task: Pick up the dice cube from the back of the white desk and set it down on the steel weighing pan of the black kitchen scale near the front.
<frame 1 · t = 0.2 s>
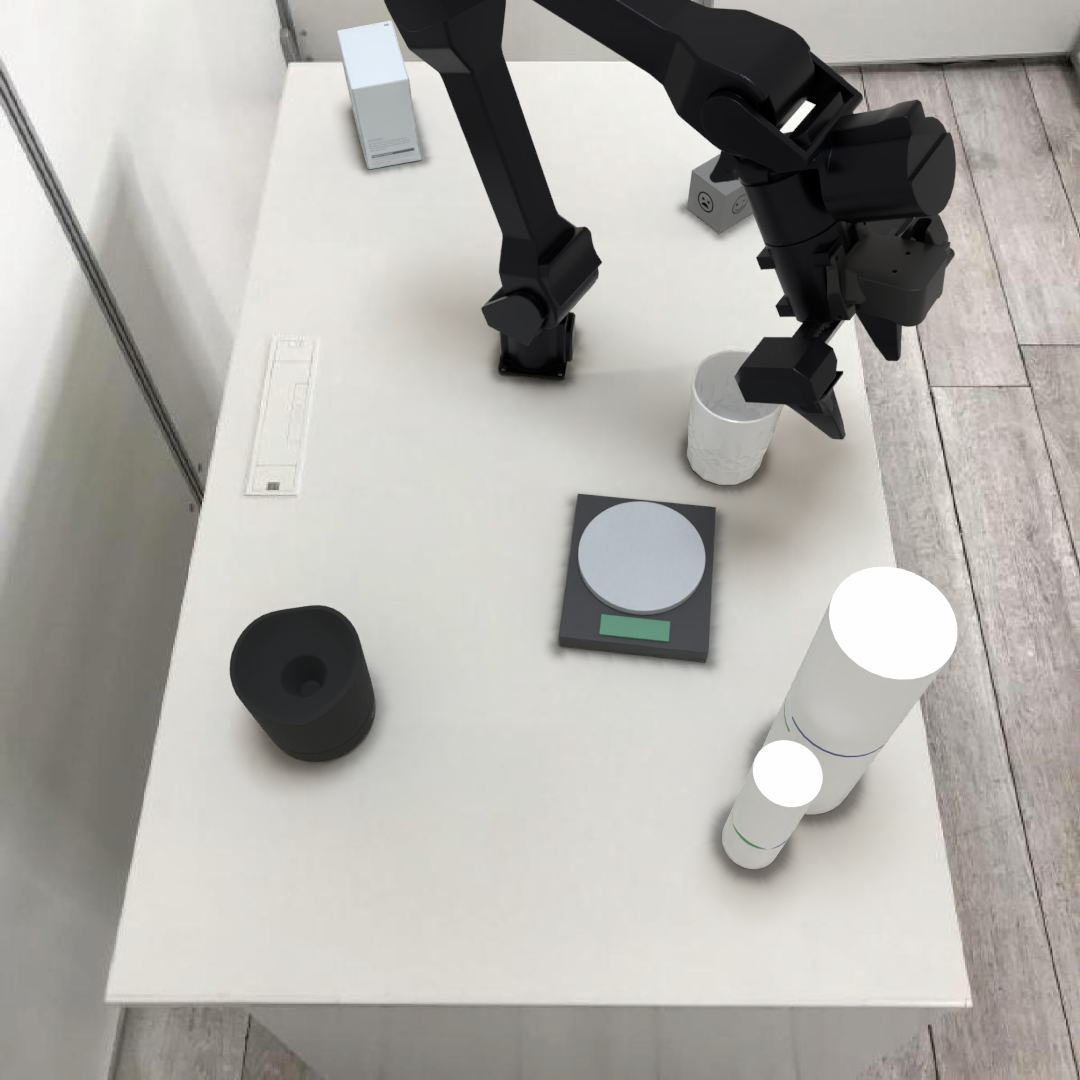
hand: (866, 398, 81), 15 cm above the table, tool tilted 30°, fingers open, 9 cm apart
scale: (638, 579, 91), on the table
white cup: (723, 457, 97), on the table
cosmetics box: (386, 137, 121), on the table
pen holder: (322, 713, 85), on the table
dice cube: (719, 212, 114), on the table
tube: (750, 840, 79), on the table
cylindrical container: (804, 769, 82), on the table
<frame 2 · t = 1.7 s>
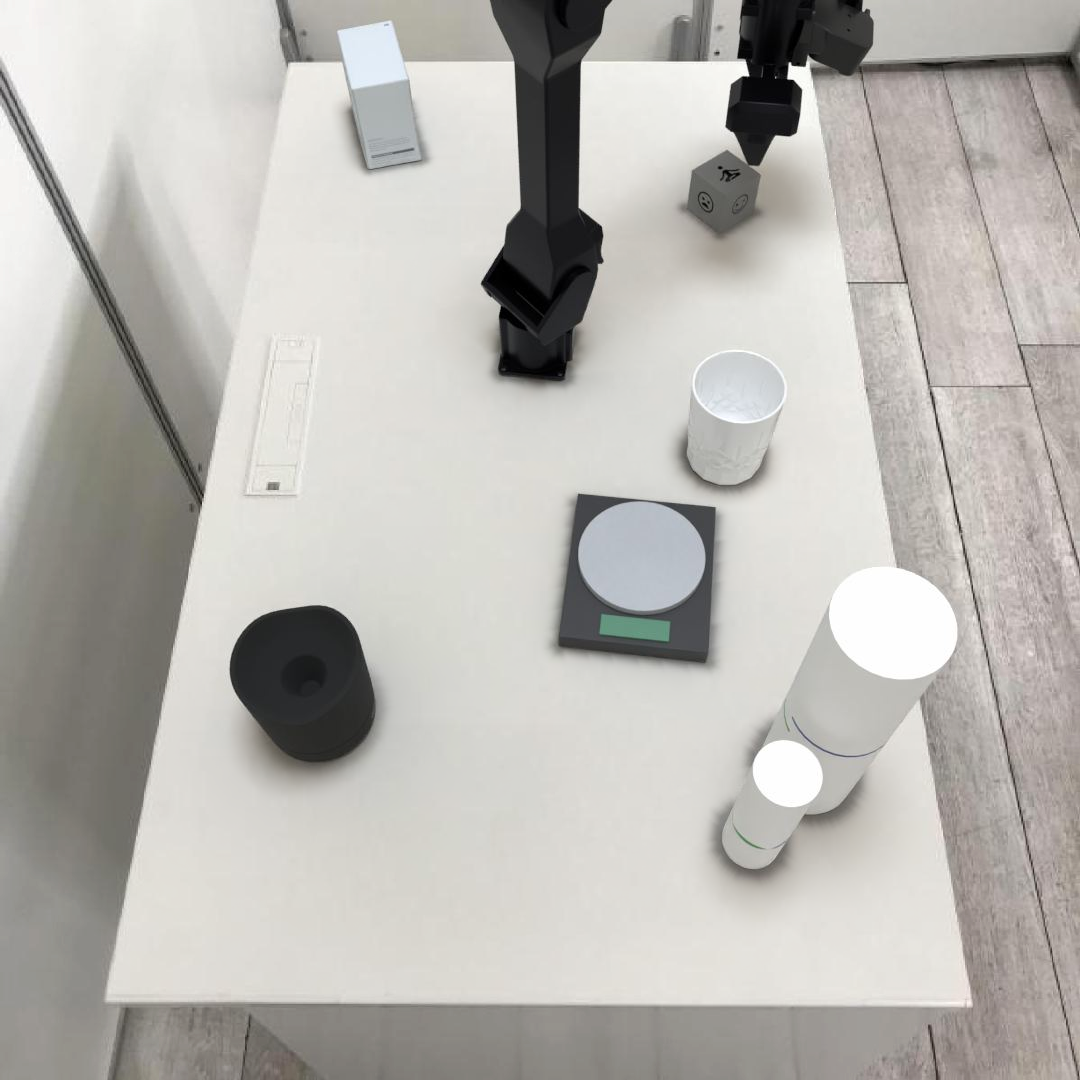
hand: (757, 132, 103), 11 cm above the table, tool pointing down, fingers open, 9 cm apart
nothing on the table moved.
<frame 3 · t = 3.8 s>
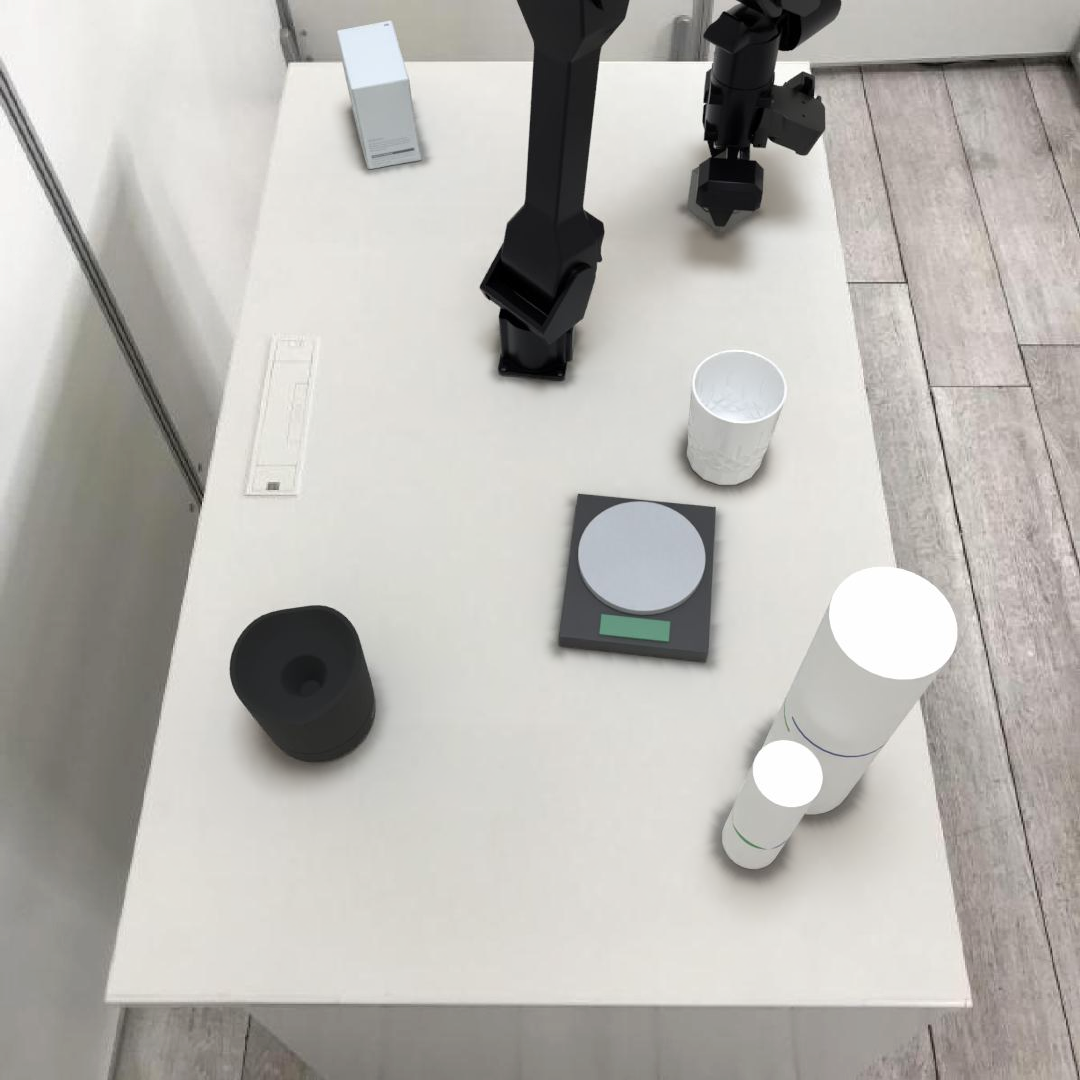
hand: (721, 203, 113), 1 cm above the table, tool pointing down, fingers closed on dice cube, 6 cm apart
dice cube: (719, 211, 114), on the table, touching gripper
everything else where it was.
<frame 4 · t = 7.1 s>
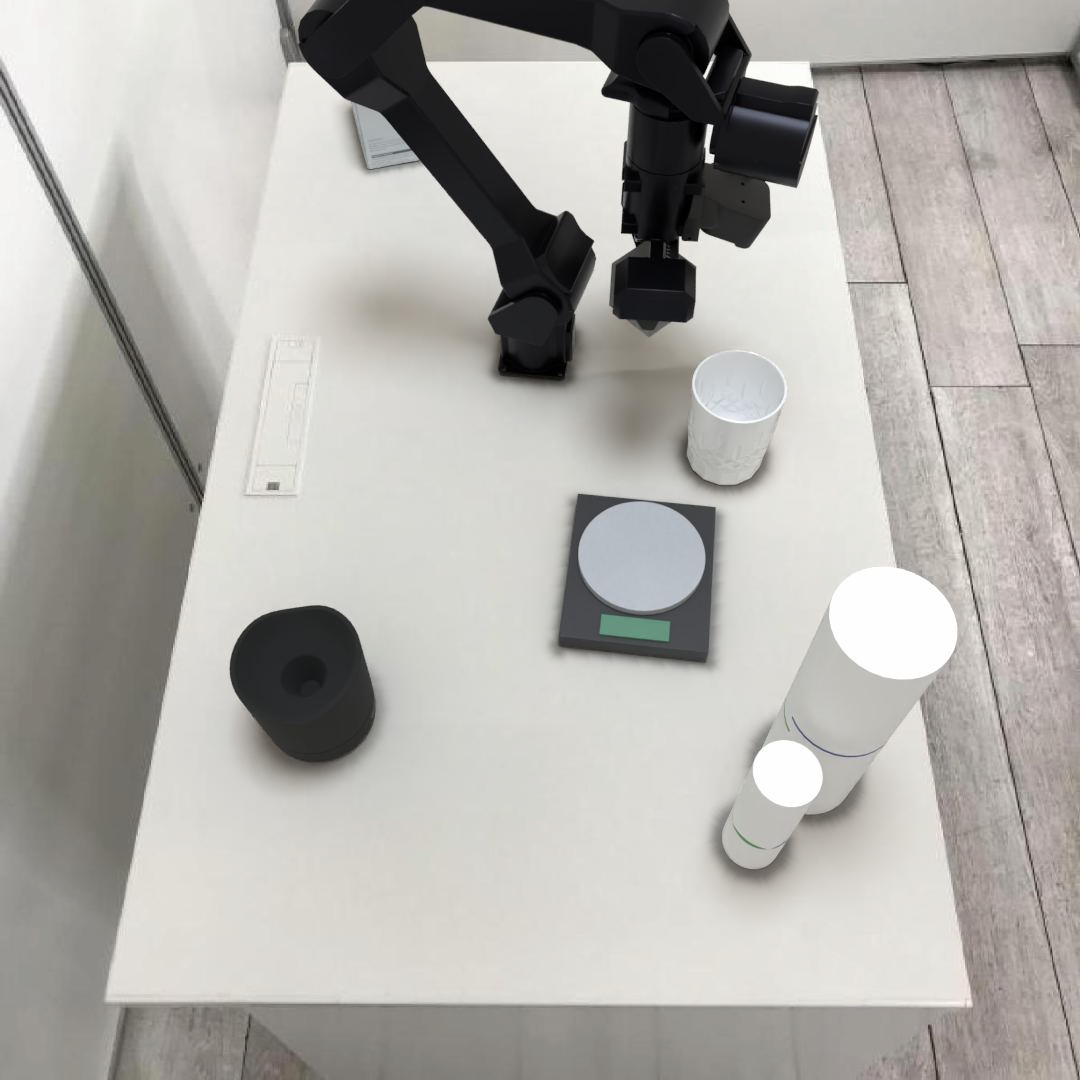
hand: (649, 299, 92), 11 cm above the table, tool pointing down, fingers closed on dice cube, 6 cm apart
dice cube: (649, 308, 93), point 10 cm above the table, touching gripper
everything else where it was.
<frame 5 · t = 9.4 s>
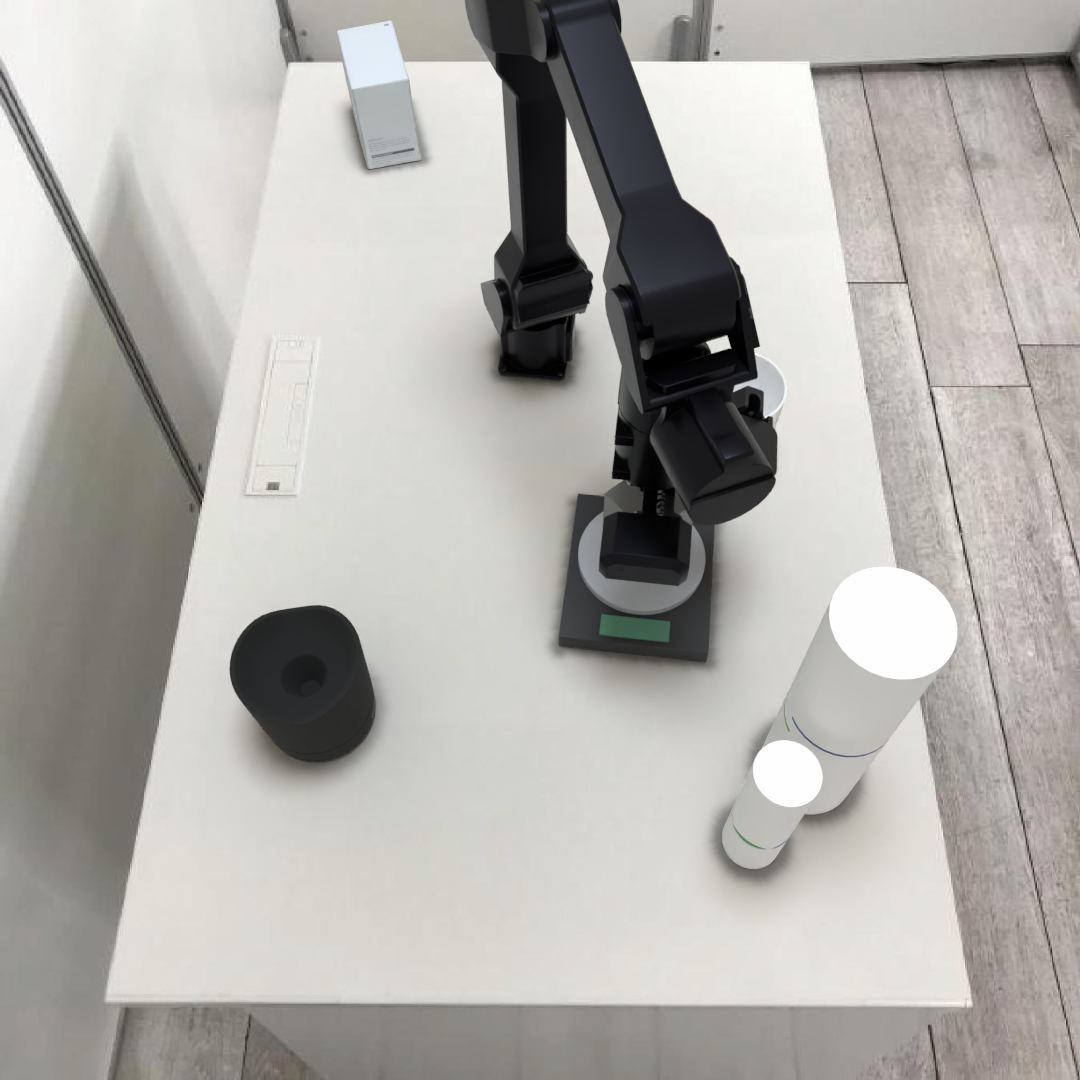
hand: (644, 524, 85), 7 cm above the table, tool pointing down, fingers closed on dice cube, 6 cm apart
dice cube: (646, 532, 86), point 6 cm above the table, touching gripper
everything else where it was.
when the fingers open (4 cm above the table, at t = 10.9 s): dice cube stays where it is, resting on scale.
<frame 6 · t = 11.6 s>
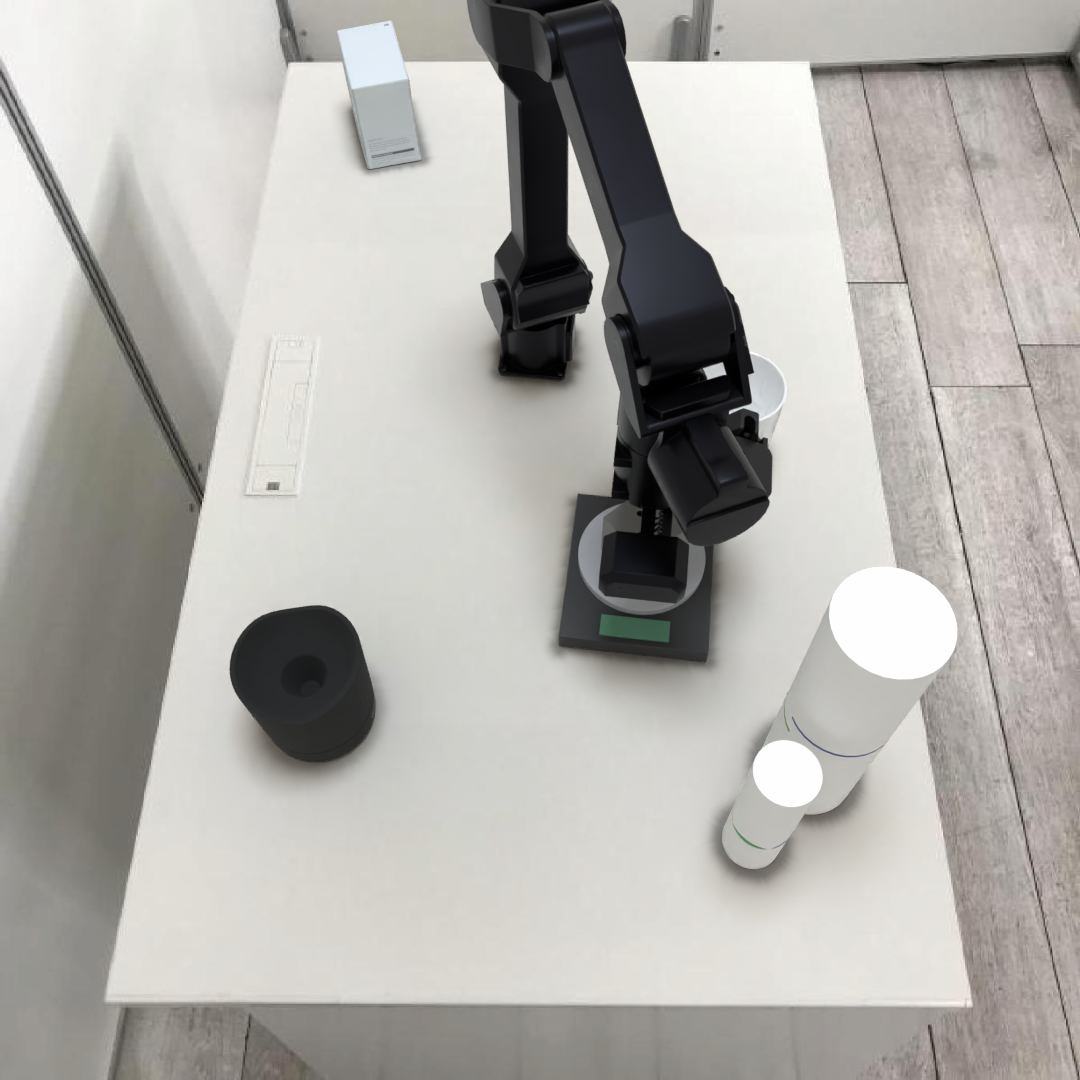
hand: (643, 542, 87), 5 cm above the table, tool pointing down, fingers open, 9 cm apart
dice cube: (643, 554, 89), point 2 cm above the table, touching scale
everything else where it was.
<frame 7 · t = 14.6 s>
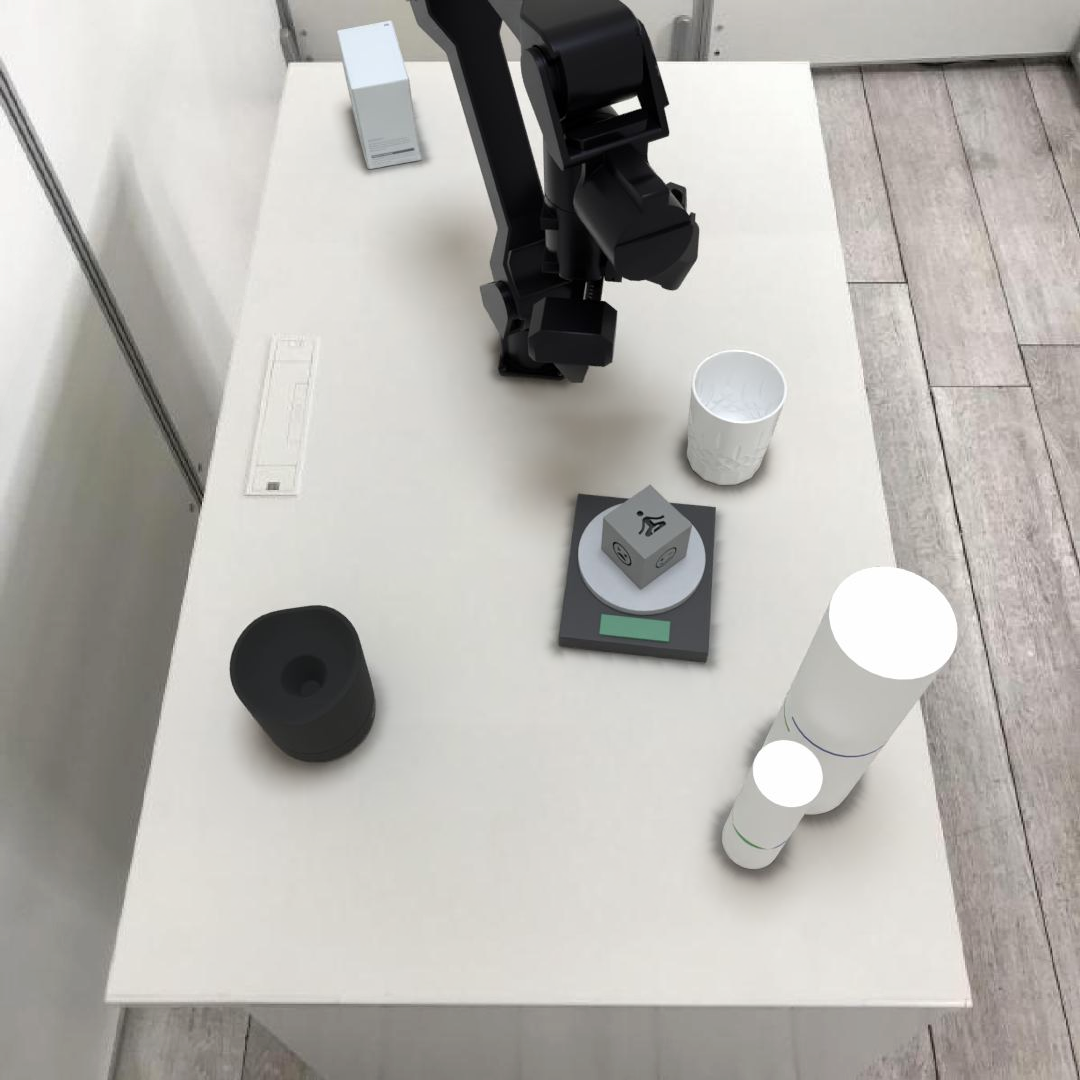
hand: (582, 339, 89), 12 cm above the table, tool pointing down, fingers open, 9 cm apart
nothing on the table moved.
at the end: dice cube inside the target area on the scale (0.1 cm from its centre), point 2.4 cm above the scale's base; the gripper is holding nothing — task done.
